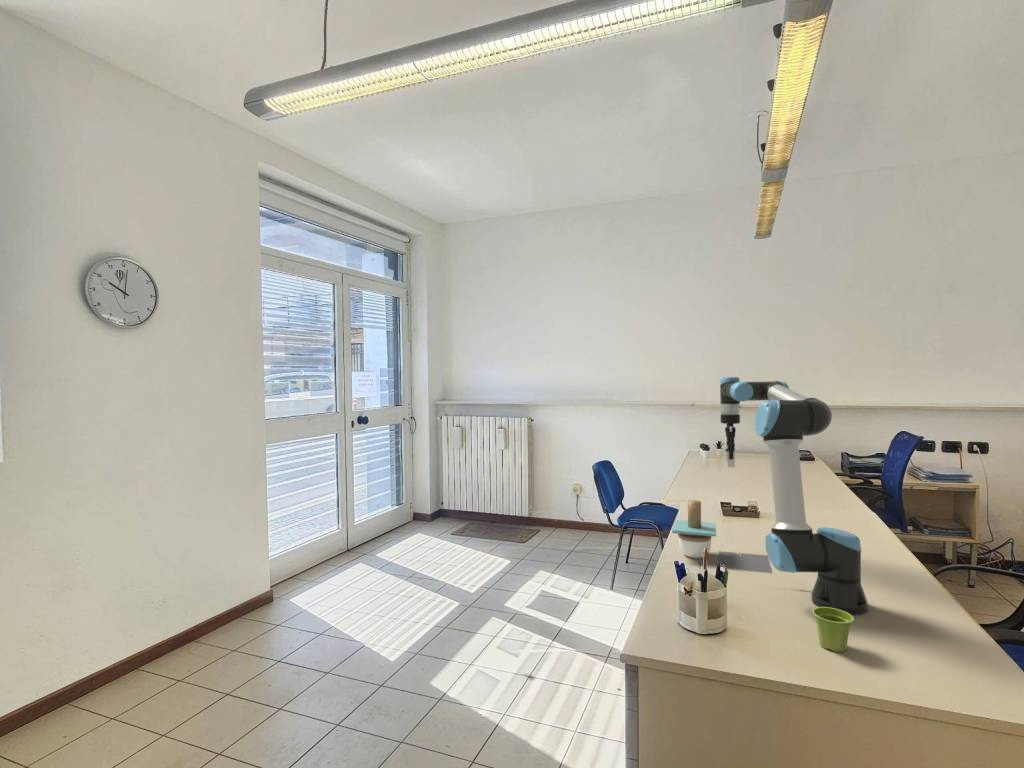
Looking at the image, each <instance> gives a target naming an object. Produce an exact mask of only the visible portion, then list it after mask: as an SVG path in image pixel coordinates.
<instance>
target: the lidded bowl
mask: <svg viewBox="0 0 1024 768" xmlns="http://www.w3.org/2000/svg"><path fill="white" fill-rule="evenodd" d="M677 536H678V547H679V549H680V551H681V552H682V553H683V555H685V556H686V557H688V558H691V559H703V558H702V554H703V549H704V548H707V549H708V554H709V553H710V551H711V548H712V547H711V546H712V536H702V535H690V534H679V533H677Z"/></svg>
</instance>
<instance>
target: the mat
mask: <svg viewBox="0 0 1024 768" xmlns="http://www.w3.org/2000/svg"><path fill="white" fill-rule="evenodd" d="M737 553H738V554H737ZM739 553H740V554H739ZM740 555H741V556H740ZM719 562H720V563H719ZM770 563H771V562H770V559H769V557H768V554H767V555H765V554H755V553H742V552H733V551H732V552H731V551H724V552H723V551H722V550H718V565H719V564H721V565H724V566H725V567H726V568H727V569H726V568H725V569H726V570H728V569H729V570H735V571H737V570H738V571H747V572H756V573H766V574H767V573H768V574H773V570H772V567H771V564H770Z"/></svg>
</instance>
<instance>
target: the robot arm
mask: <svg viewBox="0 0 1024 768" xmlns="http://www.w3.org/2000/svg"><path fill="white" fill-rule="evenodd" d="M719 383H720V384H719V387H720V389H719V391H720V394H719V395H720V396H719V397H720V405H719V406H720V408H719V409H720V423H721V424H726V427H724V430H725V431H724V432H725V436H726V448H725V452H726V463H727V468H736V466H735V465H736V464H735V463H736V462H735V461H736V460H735V459H736V456H735V451H736V448H735V446H736V444H735V438H736V431H737V429H736V427H734V424H735V425H736V424H740V423H741V415H740V413H741V412H740V411H741V409H742V405H740V403H741V402H750V401H752V402H753V401H762V402H761V403H760V405H759V406H758V408H757V409H756V413H755V417H754V418H755V419H754V428H755V432H756V434H757V435H758V436H760V438H761V437H762V438H763V444H765V445H767V447H768V449H769V460H770V461H769V462H770V471H771V483H772V494H773V495H772V496H773V503H774V514H775V515H774V516H775V522H774V523H773V525H771V532H770V533H767V534H766V536H765V541H764V543H765V545H764V546H765V550H766V551H765V552H766V554H767V556H768V559H769V562H770V563H771V564H772V567H774V568H775V570H777V571H779V572H782V573H792V574H794V573H817V578H816V580H815V583H814V585H813V588H812V591H811V601H812V603H813V604H814V605H815V606H817V607H830V608H835V609H839V610H842V611H845V612H847V613H849V614H850V615H852V616H853V615H855V616H856V615H862V614H866V613H867V612H868V610H869V607H868V606H869V604H868V603H869V602H868V599H867V596H866V594H865V591H864V588H863V585H862V581H861V580H862V577H861V575H862V565H861V564H862V558H861V557H862V547H861V545H862V544H861V539H860V538H859V537H858V536H857V535H856V534H855V533H852V532H849V531H846V530H843V529H840V528H839V529H838V528H834V527H827V526H820V527H817V529H816V533H814V532H813V528H812V527H811V526H810V525H809V524H808V523H807V519H806V508H805V507H806V506H805V499H804V489H803V480H802V479H803V477H802V470H801V469H802V468H801V467H802V466H801V461H800V460H801V459H800V451H799V449H800V448H799V446H800V445H801V444H802V443H803V442H804V437H805V436H815V435H818V434H821V433H822V432H824V431H826V429H827V428H828V427H829V426H830V424H831V421H832V419H833V416H832V415H833V412H832V410H831V408H830V407H829V405H828V404H827V403H826V402H824V401H822V400H821V399H818V398H816V397H807V396H805V395H804V394H803V395H802V394H801V393H799V392H796V391H794V390H792V389H790V388H789V385H788V383H787V382H786V381H780V380H774V381H773V380H772V381H741V380H740V377H738V376H724V377H723V376H722V377H721V378H720V382H719ZM763 401H764V402H763Z"/></svg>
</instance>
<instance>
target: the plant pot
mask: <svg viewBox="0 0 1024 768" xmlns="http://www.w3.org/2000/svg"><path fill="white" fill-rule="evenodd" d="M812 614H813V615H814V619H815V620H816V621H815V622H816V627H817V635H818V642H819V645H820V646H821V647H822V648H823V649H826V650H831V651H832V652H837V653H842V652H845V651H846V649H847V647H848V640H849V634H850V629H851V626H852V623H853V622H854V620H855V619H854V616H853V615H850V614H849V613H847V612H845V611H842V610H839V609H835V608H830V607H818V606H817V607H815V608H813V610H812Z"/></svg>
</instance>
